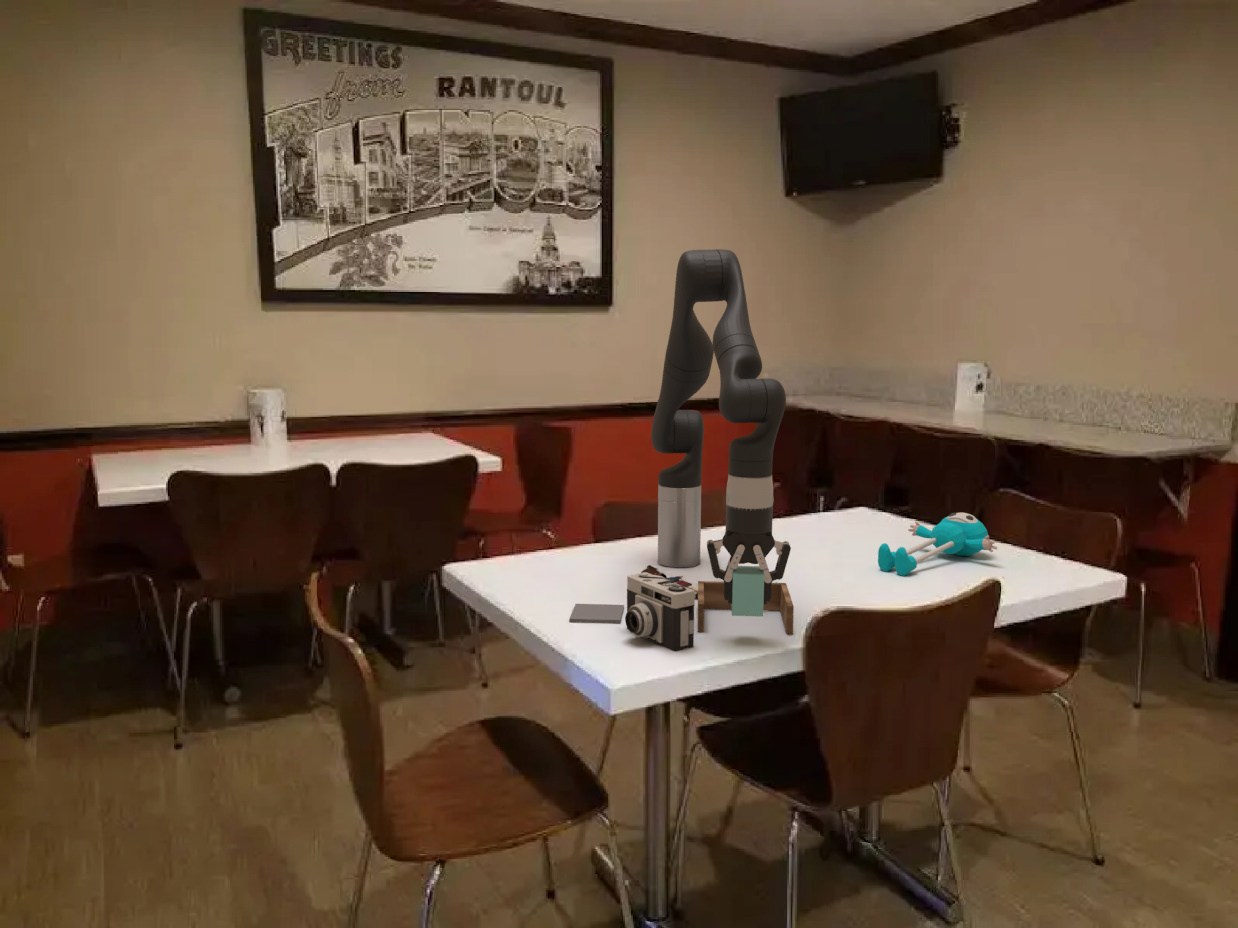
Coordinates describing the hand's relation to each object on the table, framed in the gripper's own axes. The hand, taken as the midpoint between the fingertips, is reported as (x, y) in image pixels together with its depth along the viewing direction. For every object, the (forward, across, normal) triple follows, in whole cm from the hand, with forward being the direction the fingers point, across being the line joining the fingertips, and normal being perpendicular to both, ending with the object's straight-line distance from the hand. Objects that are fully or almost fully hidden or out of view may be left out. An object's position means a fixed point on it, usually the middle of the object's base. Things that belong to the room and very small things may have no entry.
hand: (746, 602), depth 160 cm
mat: (+7, +26, -12) cm, 29 cm away
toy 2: (+8, -43, -54) cm, 70 cm away
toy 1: (+8, +13, -28) cm, 31 cm away
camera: (+7, +16, +1) cm, 17 cm away
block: (+1, 0, 0) cm, 1 cm away
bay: (+7, 0, -11) cm, 13 cm away
